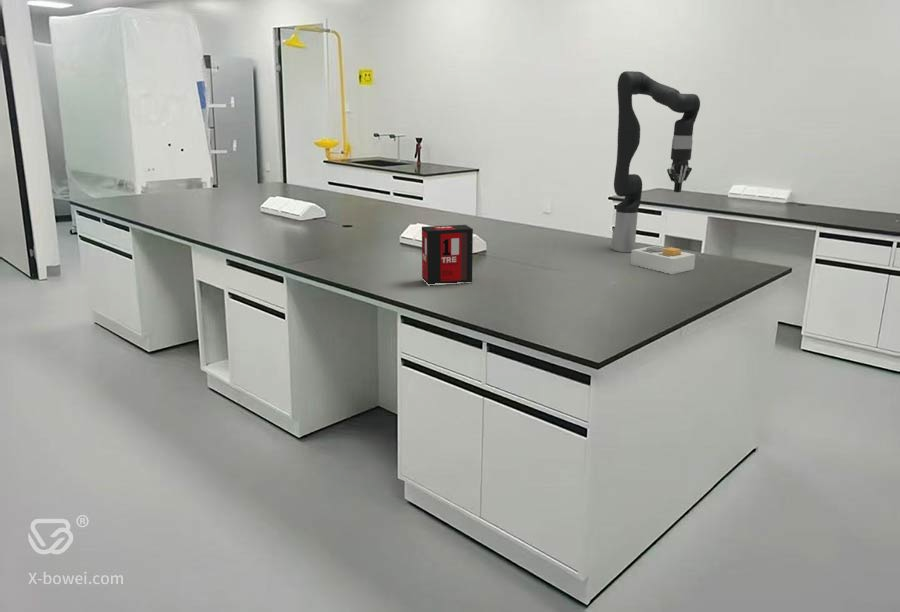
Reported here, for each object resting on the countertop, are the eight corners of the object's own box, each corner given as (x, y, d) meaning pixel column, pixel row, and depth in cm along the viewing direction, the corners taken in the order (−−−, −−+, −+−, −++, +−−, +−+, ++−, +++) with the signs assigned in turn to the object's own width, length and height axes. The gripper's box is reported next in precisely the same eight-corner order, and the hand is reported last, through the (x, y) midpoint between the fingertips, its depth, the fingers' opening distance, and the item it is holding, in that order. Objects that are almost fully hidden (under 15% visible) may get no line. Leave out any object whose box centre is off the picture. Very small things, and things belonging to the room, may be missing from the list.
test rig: (630, 264, 277) (631, 249, 275) (652, 260, 285) (654, 245, 283) (671, 274, 261) (673, 258, 259) (693, 269, 269) (695, 254, 267)
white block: (645, 258, 276) (646, 247, 275) (653, 257, 278) (654, 246, 277) (655, 261, 272) (656, 249, 271) (662, 259, 275) (663, 248, 273)
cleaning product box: (465, 277, 256) (465, 224, 250) (472, 283, 248) (472, 228, 242) (422, 280, 252) (421, 226, 246) (427, 286, 244) (427, 231, 238)
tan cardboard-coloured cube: (662, 259, 269) (663, 248, 268) (669, 258, 272) (670, 247, 271) (672, 262, 266) (673, 250, 264) (679, 260, 268) (681, 249, 267)
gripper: (684, 146, 272) (679, 190, 277) (662, 147, 265) (658, 192, 270) (700, 147, 266) (695, 192, 271) (679, 148, 259) (674, 194, 264)
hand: (677, 192), depth 270 cm, fingers closed
